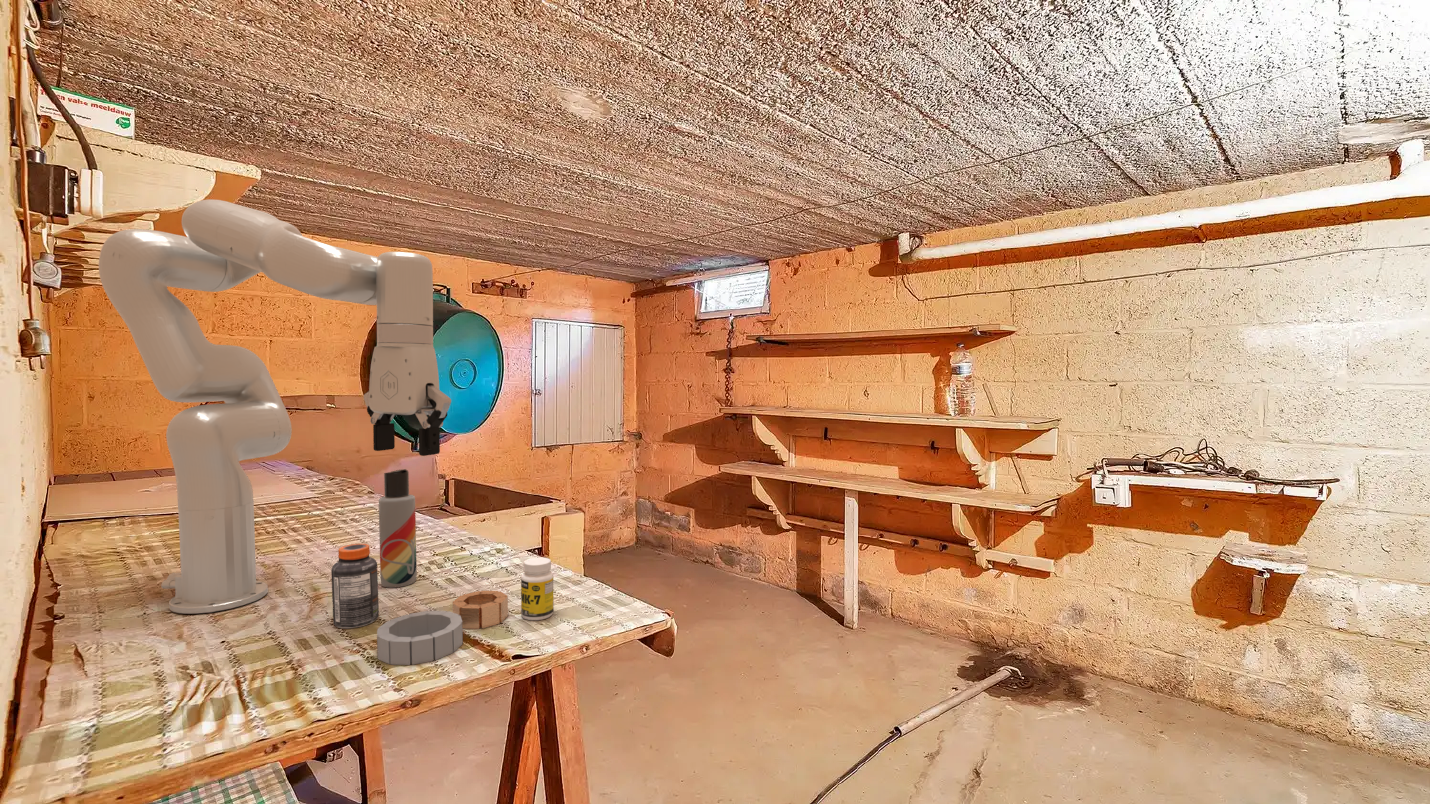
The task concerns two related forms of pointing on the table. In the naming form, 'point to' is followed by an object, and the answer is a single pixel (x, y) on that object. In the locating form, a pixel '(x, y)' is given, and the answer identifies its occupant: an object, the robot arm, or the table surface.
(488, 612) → the wooden ring
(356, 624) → the pill bottle
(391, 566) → the lotion bottle
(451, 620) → the grey segmented ring
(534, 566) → the supplement bottle
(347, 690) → the table surface
